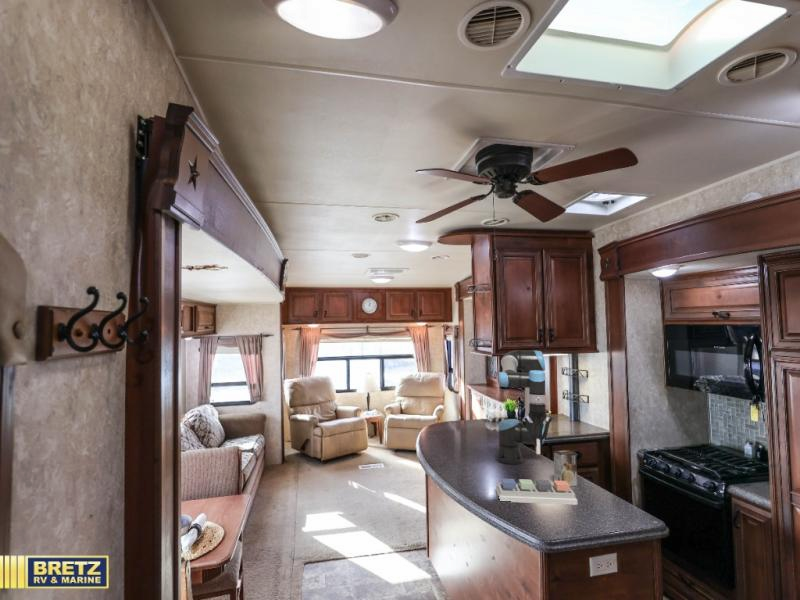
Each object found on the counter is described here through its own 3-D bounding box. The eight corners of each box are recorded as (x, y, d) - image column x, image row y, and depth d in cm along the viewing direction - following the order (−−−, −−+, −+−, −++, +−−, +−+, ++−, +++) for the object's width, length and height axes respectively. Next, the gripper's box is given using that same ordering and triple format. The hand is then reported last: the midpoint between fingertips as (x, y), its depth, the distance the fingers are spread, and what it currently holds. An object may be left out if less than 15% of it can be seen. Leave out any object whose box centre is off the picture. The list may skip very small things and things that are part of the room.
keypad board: (496, 490, 206) (496, 481, 206) (568, 493, 203) (568, 484, 204) (500, 501, 193) (500, 492, 194) (577, 504, 190) (577, 495, 191)
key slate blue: (501, 483, 203) (501, 478, 203) (513, 484, 202) (513, 478, 202) (503, 488, 197) (503, 482, 197) (516, 488, 197) (515, 483, 197)
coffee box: (569, 481, 219) (568, 449, 220) (577, 485, 213) (577, 453, 214) (553, 483, 217) (553, 450, 217) (561, 487, 210) (561, 454, 211)
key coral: (553, 485, 201) (553, 480, 201) (566, 486, 200) (565, 480, 200) (557, 490, 195) (557, 484, 195) (569, 490, 195) (569, 485, 195)
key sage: (519, 484, 202) (518, 479, 202) (531, 485, 202) (531, 479, 202) (521, 489, 196) (521, 483, 197) (533, 489, 196) (533, 484, 196)
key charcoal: (536, 485, 201) (536, 479, 201) (548, 485, 201) (548, 480, 201) (539, 489, 196) (539, 484, 196) (551, 490, 195) (551, 484, 195)
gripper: (524, 404, 202) (525, 455, 200) (553, 404, 201) (554, 456, 199) (522, 401, 209) (522, 450, 208) (549, 402, 208) (550, 451, 206)
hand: (537, 453), depth 203 cm, fingers closed
